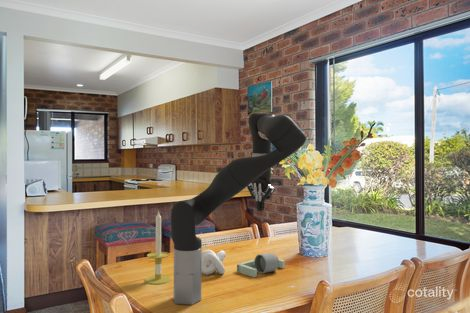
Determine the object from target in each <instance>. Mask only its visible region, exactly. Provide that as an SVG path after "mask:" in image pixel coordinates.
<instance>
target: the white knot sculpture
mask: <svg viewBox="0 0 470 313" xmlns="http://www.w3.org/2000/svg"><path fill="white" fill-rule="evenodd" d="M226 254H227V253H226V251H224V250H219V251H218V252H217V253H215V251H213V250H211V249H205V250H203V251H202V256H201V274H203V275H205V276H209V275H212V274H213V273H214V272H215V271H217V273H218V274H219V275H224V274H225V273H226V268H225V266H224V264H223V262H224V260H225V259H226Z"/></svg>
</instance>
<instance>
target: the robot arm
mask: <svg viewBox="0 0 470 313" xmlns="http://www.w3.org/2000/svg"><path fill="white" fill-rule="evenodd" d="M248 128H249V130H250V136H251V139H252V141H251V143H252V152H251V155H252V156H248V157H241V158H236V159H234V160H232V161H231V162H229V163H228V164H227V165H226V166H224V167H222V169H221V170H220V171H219V172H218V173H217V174H216V175H215V177H213V179H212V181H211V182H210V184H209V185H208V186H207V188H206V189H204V190H202V191H201V192H200V193H199V194H198V195H196V196H194V197H192V198H188V199H184V200H179V201H177V202H175V203H174V204H173V206H172V208H171V211H170V233H171V234H170V236H171V240H172V243H173V301H174V304H175V305H177V304H178V305H192V306H193V305H195V304H196V303H198V302H200V301H201V300H202V273H201V256H202V252H203V251H202V245H203V243H202V242H203V240H202V239H201V238H200V237H199V236H197V234H196V226H198V225H201V223H203V222H204V221H205V220H206V219H207V218H209V216H210V215H211V214H212V213H213V212H214V211H215V210H216V209H217V208H219V206H221V205H223V204H224V203H226V202H228V201H229V200H230V199H232V198H234V197H235V196H236V195H238V194H239V193H241V192H242V191H243V190H245V189H247V190H248V192H249V194H250V196H251V198H252V199H253V200H255V201H256V205H255V206H256V211H257V212H264V210H265V205H266V204H265V202H266V201H268V200H270V199H271V197H272V195H273V193H275V191H276V188H275V187H274V186H272V185H271V184H272V182H271V178H272V168H273V167H275V166H276V165H278V164H280V163H281V162H282V161H284V160H285V159H287V158H289V157H290V156H291V155H293V154H295V153H296V152H297V151H299V150H300V149H301V148H302V147H303V145H305V143H306V141H307V136H306V134H305V132H303V130H302V129H301V128H300V126H298V124H297V123H296V122H295V121H294V120H293V119H292V118H291V117H290V116H288V115H286V114H279V115H278V114H277V115H275V114H274V113H268V112H267V113H264V112H263V113H261V112H253V113H251V114H250V115H249V116H248ZM259 132H260V134H262V135H264V136H265V137H263V136H261V135H260V134H259ZM272 146H273V147H274V148H275V149H274V150H272Z"/></svg>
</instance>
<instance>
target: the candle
mask: <svg viewBox="0 0 470 313" xmlns="http://www.w3.org/2000/svg"><path fill="white" fill-rule="evenodd" d="M146 257H147V258H148V259H154V275H151V276H148V277H146V278H145V280H144V283H146V284H148V285H156V286H157V285H163V284H167V283H169V282H170V281H172V277H171V276H169V275H165V274H164V275H163V274H162V259H165V258H167V257H170V253H169V252H166V251H162V216H161V214H160V210H158V211H157V214H156V216H155V251H154V252H153V251H152V252H149V253H148V254H146Z"/></svg>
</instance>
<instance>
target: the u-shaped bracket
mask: <svg viewBox="0 0 470 313" xmlns="http://www.w3.org/2000/svg"><path fill="white" fill-rule="evenodd" d="M254 260H255V259H251V260H248V261H244V262H240V263H237V264H236V272H238V273H241V274H243V275H246V276H249V277H252V278H256V277H258V272H257V269H256V268H255V267H254ZM278 260H279V266H278V268H280V269H284V268H285V267H286V265H285V264H286V261H285V260H283V259H280V258H278Z"/></svg>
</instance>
